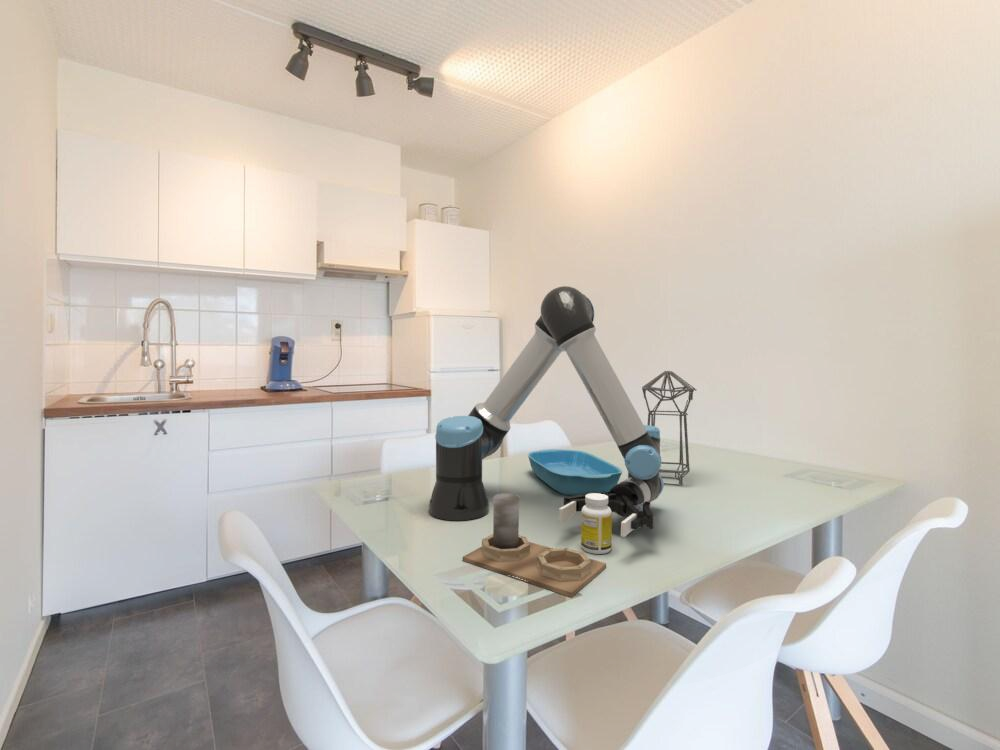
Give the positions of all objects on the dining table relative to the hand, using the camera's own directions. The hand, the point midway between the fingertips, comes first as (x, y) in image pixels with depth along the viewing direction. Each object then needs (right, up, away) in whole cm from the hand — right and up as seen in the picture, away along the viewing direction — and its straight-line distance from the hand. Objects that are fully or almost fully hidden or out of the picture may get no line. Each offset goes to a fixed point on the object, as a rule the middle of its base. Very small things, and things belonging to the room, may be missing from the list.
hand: (590, 522), depth 98 cm
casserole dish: (+4, -4, +54) cm, 55 cm away
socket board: (-12, -7, -5) cm, 14 cm away
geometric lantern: (+35, -4, +57) cm, 67 cm away
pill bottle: (+2, -7, +3) cm, 7 cm away
